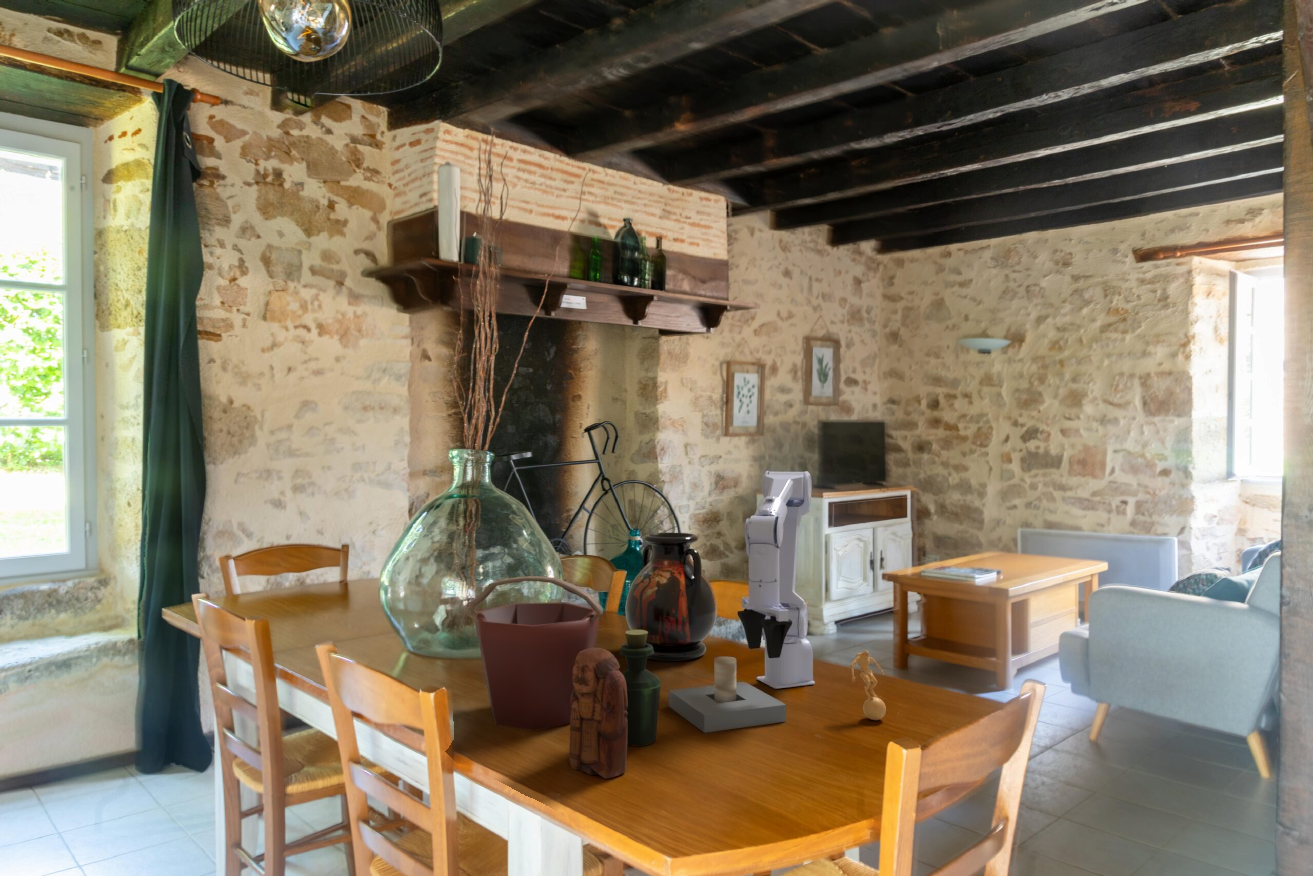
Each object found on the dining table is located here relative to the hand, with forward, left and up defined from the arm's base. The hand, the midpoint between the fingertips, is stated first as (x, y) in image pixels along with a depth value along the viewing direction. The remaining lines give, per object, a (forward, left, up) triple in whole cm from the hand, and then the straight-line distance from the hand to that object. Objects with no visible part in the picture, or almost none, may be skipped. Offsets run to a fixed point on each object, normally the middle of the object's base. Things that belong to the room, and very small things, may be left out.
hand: (764, 652), depth 161 cm
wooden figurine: (+38, +16, -11) cm, 43 cm away
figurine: (-15, +12, -11) cm, 22 cm away
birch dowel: (+8, 0, -10) cm, 13 cm away
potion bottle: (+28, +7, -11) cm, 31 cm away
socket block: (+8, 0, -10) cm, 13 cm away
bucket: (+40, -13, -11) cm, 43 cm away
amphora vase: (0, -45, -11) cm, 46 cm away
